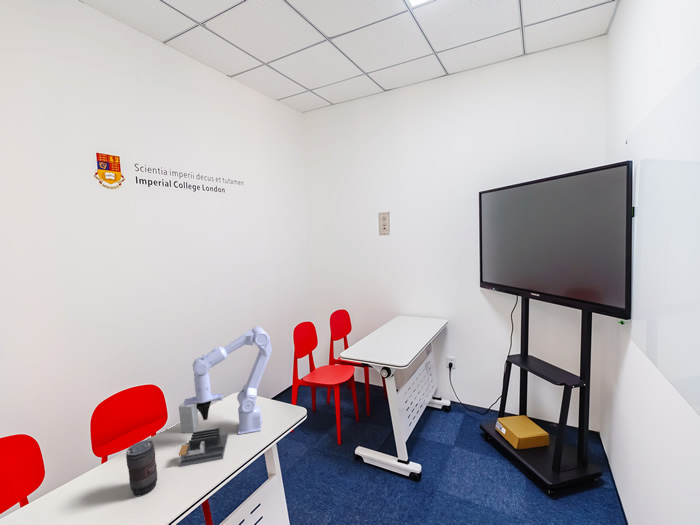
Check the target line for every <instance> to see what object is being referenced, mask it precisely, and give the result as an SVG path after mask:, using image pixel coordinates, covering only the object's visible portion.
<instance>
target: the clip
mask: <svg viewBox="0 0 700 525" xmlns="http://www.w3.org/2000/svg"><path fill="white" fill-rule="evenodd" d="M205 452H206V451H205V441H202V442H201V444H200V449H198V450H193V451H187V453H186V455H185V458H186V457H192V456H197V455H203V454H205Z"/></svg>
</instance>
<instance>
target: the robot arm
mask: <svg viewBox="0 0 700 525" xmlns="http://www.w3.org/2000/svg"><path fill="white" fill-rule="evenodd" d="M270 337H271V336H269V334H268V333H267V332H266V331H265V329H264V328H263V327H261V326H254V327H252V328H251V329H248V330H246V331H245V333H243V334H242V335H240V336H238V337H237V338H236V339H234V340H233V341H230V343H228V344H227V345H225V346H224V347H223V346H217V347H216V346H214V348H212V350H211V351H209V352H208V353H206V354H203V355H201V356H199V357H197V358H196V359H194V361H193V363H192V371H193V372H194V373H193V376H194V381H193V382H194V390H195V391H194V392H195V396H194V397H193V396H192V397H190V398H185V399H184V401H183V402H184V406H187V405H189V404H196V403H197V406H196V408H197V411H198V412H199V414H200V415H201V418H202V419H203V420H202V421H206V420H208V418H209V412H210V407H211V404H212V402H214V401H223V400H224V394H223V393H212V389H211V378H210V373H209V371H210V369H211V368H213V367H215V366H216V365H218V364H219V363H221V362H223V361H225V360H226V359H227V356H228V355H229V354H231V353H232V352H234V351H236V350H238V349H240V348H242V347H244V346H254V345H256V346H257V348H258V350H259V351H258V354H257V356H256V358H255V361H254V364H253V367H252V368H251V371H250V374H249V376H248V379H247V381H246V384H244V385H243V387H242V389H241V390H240V391H239V393H238V394H237V396H236V399H237V401H238V404H239V406H238V409H237V410H238V412H237V413H238V424H239V425H238V430H237V435H243V434H248V433H255V432H260V431H262V424H263V418H262V410H261V405H256V399H257V397H258V387H259V386H260V382H261V380H262V378H263V376H264V372H265V370H266V367H267V366H268V363H269V360H270V357H271V355H272V352H273V347H272V343H271V340H272V339H271V338H270Z"/></svg>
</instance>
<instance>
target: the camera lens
mask: <svg viewBox="0 0 700 525" xmlns="http://www.w3.org/2000/svg"><path fill="white" fill-rule="evenodd" d="M155 448H156V447H155V445H154V442H153V441H152V440H147V439H146V440H142V441H141V440H140V441H138V442H136V443H134V444H133V445H131V446H129V447H128V449H127V450H126V454H125V455H126V456H125V459H126V466H127V470H128V477H129V479H128V480H129V486H130V490H131V492H132V494H133V495H134V496H136V497H142V496H145V495H148V494H149V493H151V492H152V491H153V490H154V489H155V488H156V485H157V481H158V470H157V462H156V461H157V460H156V449H155Z"/></svg>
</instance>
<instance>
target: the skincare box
mask: <svg viewBox="0 0 700 525" xmlns="http://www.w3.org/2000/svg"><path fill="white" fill-rule="evenodd" d="M196 406H197V403H196V404H189V405H187V406H184V401H183V402H182V403H181V404H180V405H178V411H179V414H178V415H179V424H180V432H181V433H193V432H197V431H198V429H199V428H200V422H199V414H198V412H199V411H198V409H197V408H196Z"/></svg>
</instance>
